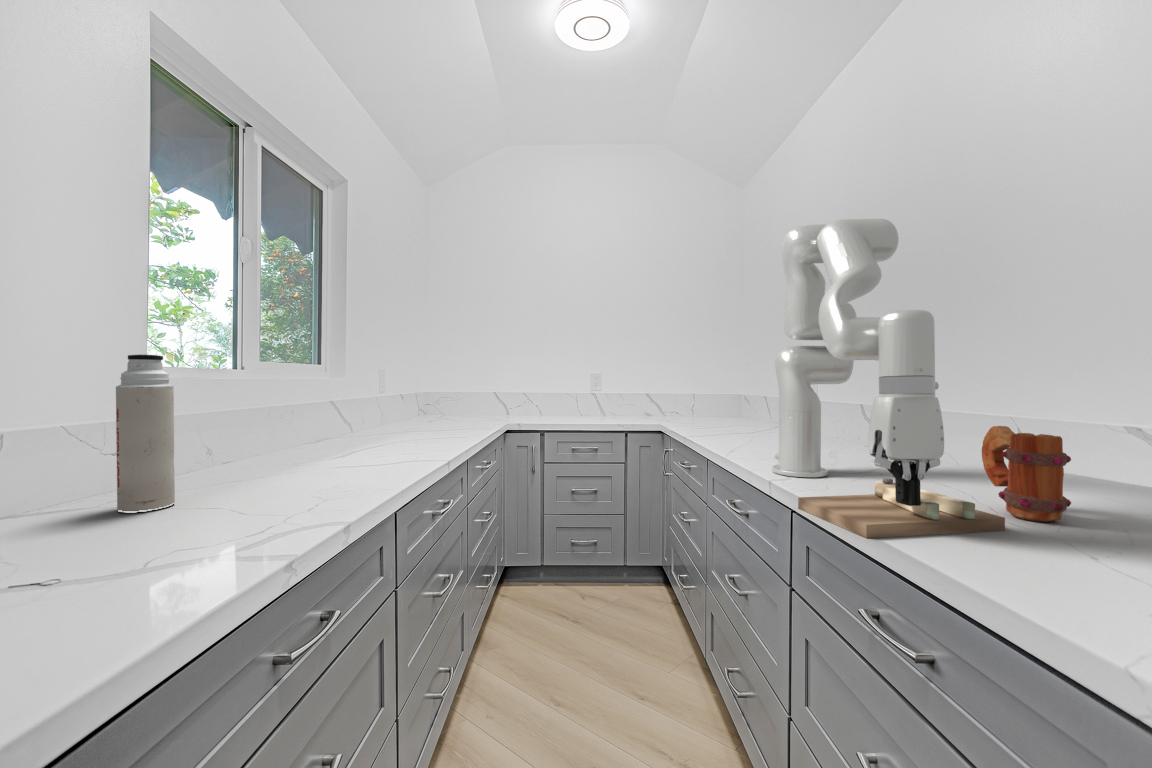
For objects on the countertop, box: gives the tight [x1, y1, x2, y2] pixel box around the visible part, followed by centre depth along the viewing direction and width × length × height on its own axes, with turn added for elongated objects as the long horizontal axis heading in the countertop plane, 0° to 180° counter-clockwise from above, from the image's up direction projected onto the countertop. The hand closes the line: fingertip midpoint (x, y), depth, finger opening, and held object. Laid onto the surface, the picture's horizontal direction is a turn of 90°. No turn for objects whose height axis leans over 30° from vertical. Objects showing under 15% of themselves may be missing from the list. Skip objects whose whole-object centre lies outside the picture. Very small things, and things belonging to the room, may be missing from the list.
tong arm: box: [874, 480, 939, 519], centre depth 84 cm, size 17×4×2 cm, turn 176°
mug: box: [981, 425, 1072, 523], centre depth 87 cm, size 15×8×15 cm, turn 179°
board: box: [797, 493, 1006, 539], centre depth 84 cm, size 17×24×2 cm
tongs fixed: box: [882, 477, 976, 519], centre depth 84 cm, size 16×3×3 cm, turn 9°
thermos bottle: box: [115, 354, 176, 511], centre depth 91 cm, size 8×8×28 cm
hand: (907, 503), depth 79 cm, fingers closed
